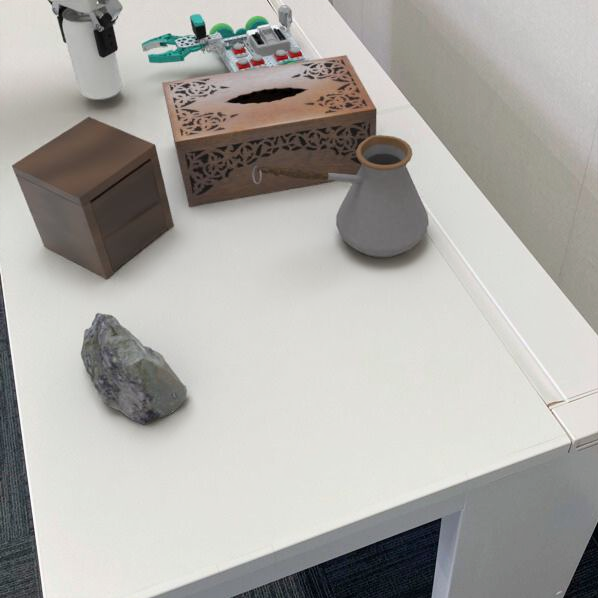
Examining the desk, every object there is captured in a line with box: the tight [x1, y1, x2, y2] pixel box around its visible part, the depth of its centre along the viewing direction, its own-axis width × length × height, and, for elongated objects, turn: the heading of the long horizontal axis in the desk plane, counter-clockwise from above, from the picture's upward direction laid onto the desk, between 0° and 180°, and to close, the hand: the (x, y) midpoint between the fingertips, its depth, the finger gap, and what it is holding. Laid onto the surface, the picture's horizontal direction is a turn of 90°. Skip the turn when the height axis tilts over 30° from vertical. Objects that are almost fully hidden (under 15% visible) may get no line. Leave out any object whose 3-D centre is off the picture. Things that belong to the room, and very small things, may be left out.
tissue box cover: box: [161, 55, 377, 208], centre depth 105 cm, size 26×14×10 cm, turn 106°
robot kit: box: [141, 4, 310, 73], centre depth 121 cm, size 19×25×9 cm
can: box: [62, 8, 123, 101], centre depth 114 cm, size 6×6×12 cm
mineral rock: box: [80, 312, 188, 425], centre depth 79 cm, size 13×11×10 cm
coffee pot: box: [252, 134, 430, 258], centre depth 91 cm, size 21×12×15 cm, turn 113°
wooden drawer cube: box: [11, 116, 175, 280], centre depth 94 cm, size 11×12×12 cm
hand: (90, 45), depth 113 cm, fingers closed on can, 6 cm apart
